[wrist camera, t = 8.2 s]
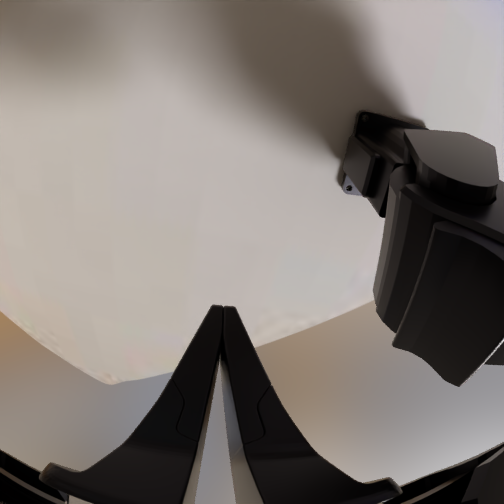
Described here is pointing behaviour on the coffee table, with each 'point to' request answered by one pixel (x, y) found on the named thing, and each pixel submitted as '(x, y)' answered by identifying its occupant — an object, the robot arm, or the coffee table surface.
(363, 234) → the coffee table surface
